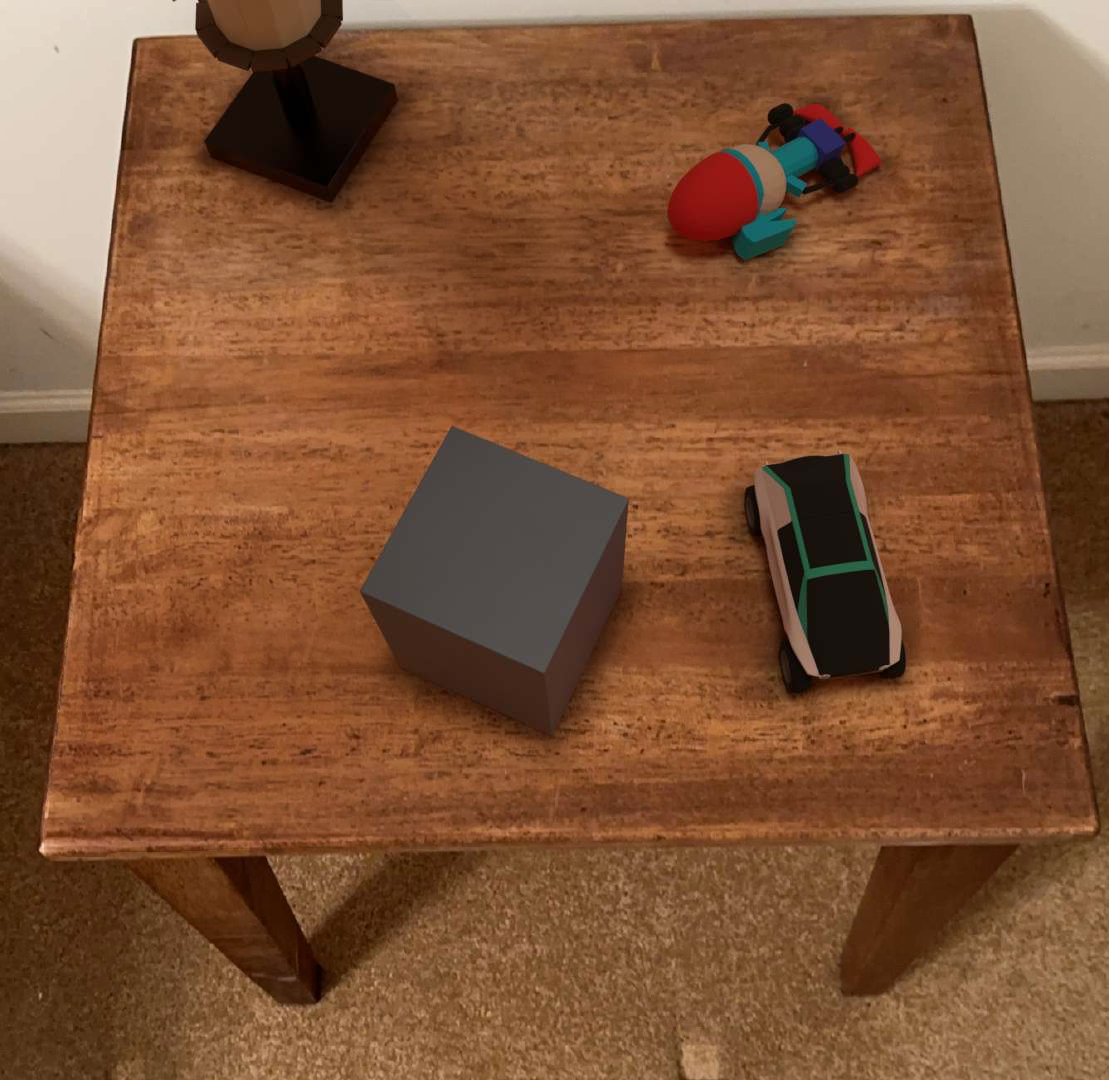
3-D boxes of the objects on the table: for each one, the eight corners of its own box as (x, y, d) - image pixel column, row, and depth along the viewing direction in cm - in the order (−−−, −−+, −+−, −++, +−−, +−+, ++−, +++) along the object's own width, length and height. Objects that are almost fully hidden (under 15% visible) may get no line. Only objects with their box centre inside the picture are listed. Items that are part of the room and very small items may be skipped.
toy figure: (801, 116, 78) (627, 206, 72) (828, 58, 73) (646, 150, 68) (877, 196, 76) (705, 295, 71) (910, 142, 72) (729, 242, 66)
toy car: (843, 478, 66) (863, 434, 61) (897, 683, 62) (924, 654, 57) (739, 493, 66) (751, 451, 61) (787, 700, 62) (804, 672, 57)
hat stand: (332, 203, 74) (268, 0, 60) (210, 157, 76) (118, -52, 61) (398, 100, 77) (354, -118, 63) (280, 58, 79) (209, -164, 64)
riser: (552, 736, 61) (544, 674, 50) (399, 667, 63) (358, 591, 52) (622, 588, 64) (629, 497, 53) (474, 525, 66) (451, 424, 55)
